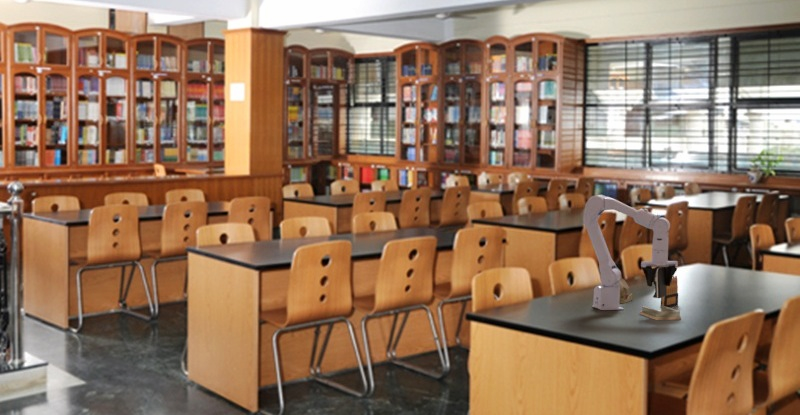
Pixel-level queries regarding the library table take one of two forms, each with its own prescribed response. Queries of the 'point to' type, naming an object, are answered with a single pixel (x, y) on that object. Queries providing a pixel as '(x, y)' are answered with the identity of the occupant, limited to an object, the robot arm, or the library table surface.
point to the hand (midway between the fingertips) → (658, 285)
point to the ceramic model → (624, 292)
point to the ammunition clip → (671, 294)
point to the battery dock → (661, 313)
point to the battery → (660, 282)
